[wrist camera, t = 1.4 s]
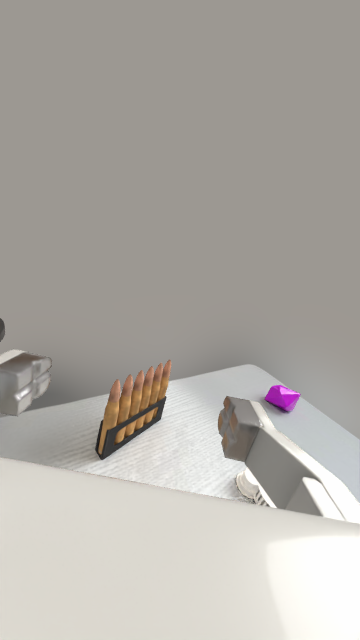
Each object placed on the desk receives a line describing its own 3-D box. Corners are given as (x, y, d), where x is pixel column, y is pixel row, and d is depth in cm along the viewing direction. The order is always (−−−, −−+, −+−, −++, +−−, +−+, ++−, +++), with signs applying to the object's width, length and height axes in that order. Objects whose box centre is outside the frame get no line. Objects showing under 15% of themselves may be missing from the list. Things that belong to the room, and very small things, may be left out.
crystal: (275, 394, 48) (282, 380, 46) (294, 411, 44) (304, 396, 42) (262, 398, 45) (270, 383, 44) (282, 416, 41) (291, 400, 39)
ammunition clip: (101, 460, 24) (114, 387, 20) (94, 449, 25) (105, 377, 21) (160, 419, 32) (178, 361, 28) (153, 411, 33) (169, 355, 29)
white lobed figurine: (222, 501, 23) (228, 491, 22) (245, 454, 30) (250, 445, 29) (305, 588, 18) (316, 578, 17) (309, 508, 25) (317, 499, 24)
